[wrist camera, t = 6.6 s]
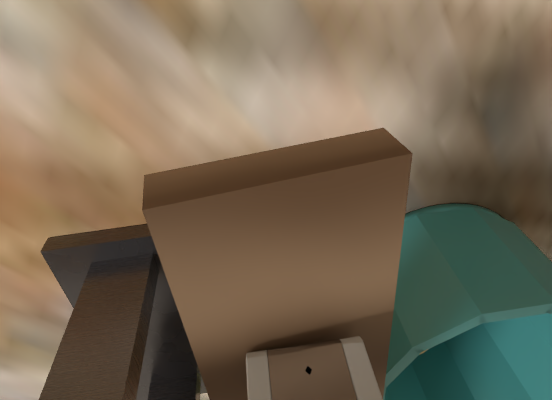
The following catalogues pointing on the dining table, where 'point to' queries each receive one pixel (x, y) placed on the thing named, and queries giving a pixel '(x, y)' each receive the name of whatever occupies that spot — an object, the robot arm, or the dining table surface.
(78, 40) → the dining table surface
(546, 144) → the dining table surface
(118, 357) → the lever stand
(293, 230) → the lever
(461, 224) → the cup
